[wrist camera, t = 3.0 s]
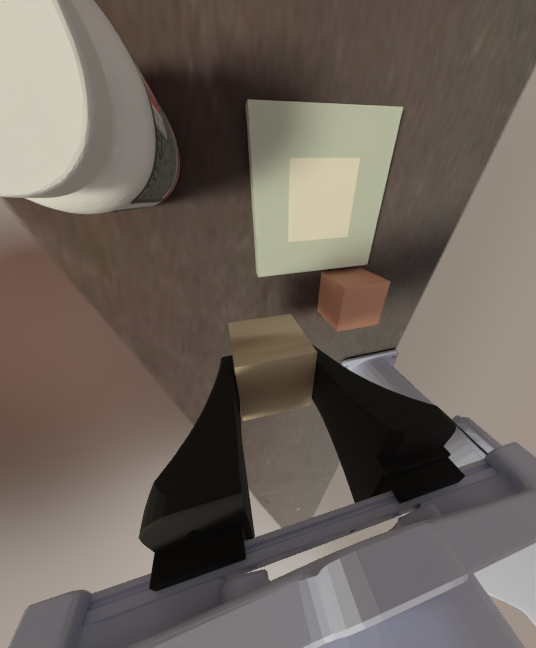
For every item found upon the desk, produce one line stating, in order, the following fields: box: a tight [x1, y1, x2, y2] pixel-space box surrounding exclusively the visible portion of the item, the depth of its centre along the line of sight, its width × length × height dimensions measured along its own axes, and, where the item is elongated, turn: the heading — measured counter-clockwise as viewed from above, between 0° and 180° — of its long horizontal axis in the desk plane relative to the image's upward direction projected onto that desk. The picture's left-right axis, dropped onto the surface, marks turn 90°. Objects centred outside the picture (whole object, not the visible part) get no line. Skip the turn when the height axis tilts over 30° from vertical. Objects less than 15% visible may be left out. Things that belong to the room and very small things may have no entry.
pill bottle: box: [0, 0, 180, 214], centre depth 7 cm, size 6×6×10 cm
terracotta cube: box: [317, 268, 391, 331], centre depth 18 cm, size 4×4×4 cm
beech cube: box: [228, 314, 317, 421], centre depth 12 cm, size 4×4×4 cm
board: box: [246, 99, 403, 277], centre depth 15 cm, size 10×10×1 cm
